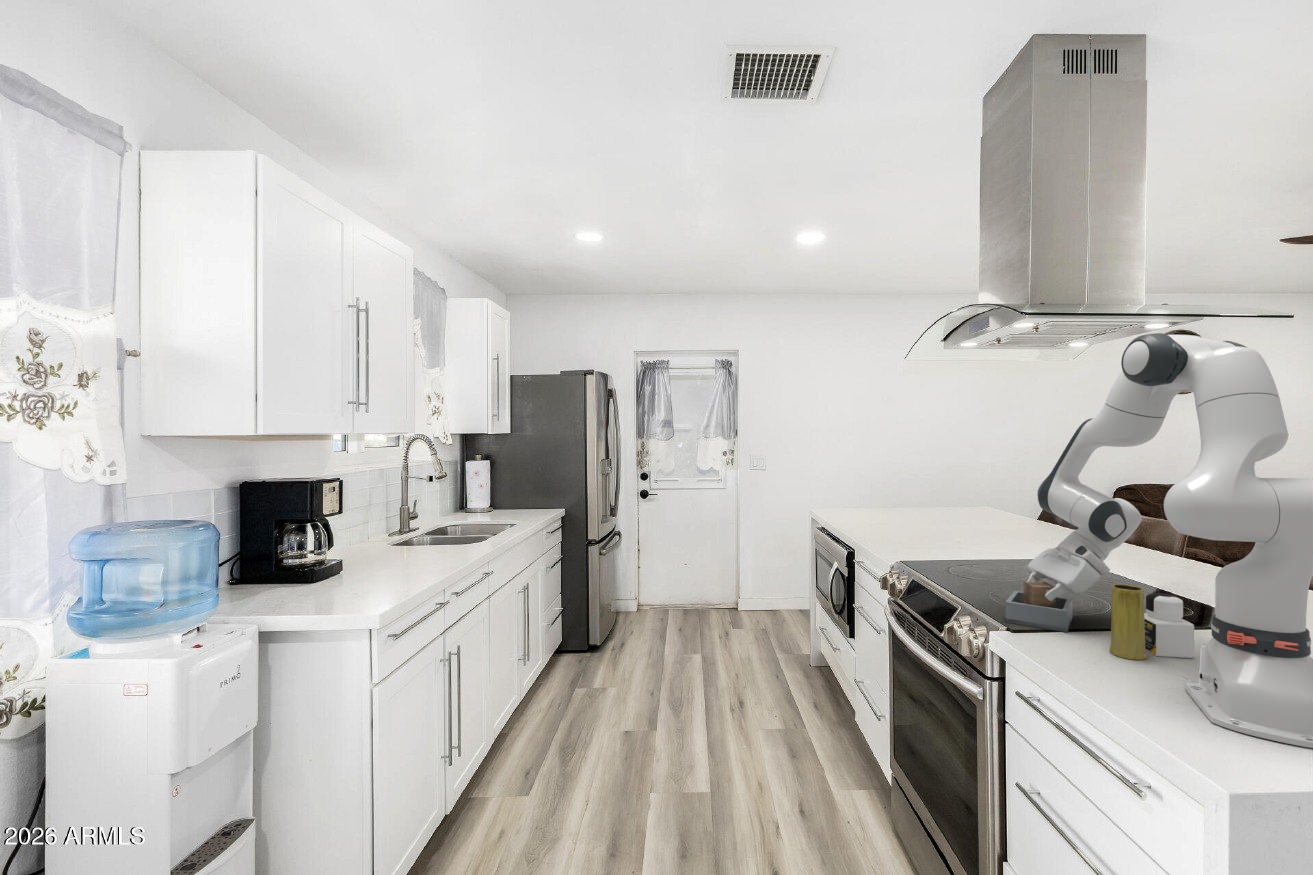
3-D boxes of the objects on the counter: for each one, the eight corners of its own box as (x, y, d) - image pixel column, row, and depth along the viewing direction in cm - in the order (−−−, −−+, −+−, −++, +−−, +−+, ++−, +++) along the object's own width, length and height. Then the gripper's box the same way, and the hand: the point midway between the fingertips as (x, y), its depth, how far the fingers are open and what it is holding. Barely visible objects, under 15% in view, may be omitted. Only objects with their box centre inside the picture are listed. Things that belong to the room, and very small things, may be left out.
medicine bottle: (1135, 644, 132) (1135, 590, 132) (1172, 646, 131) (1173, 591, 131) (1155, 656, 125) (1155, 599, 125) (1194, 658, 124) (1195, 600, 124)
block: (1055, 619, 146) (1055, 587, 146) (1033, 619, 147) (1033, 586, 147) (1044, 613, 151) (1044, 581, 151) (1023, 613, 152) (1023, 581, 152)
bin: (1067, 632, 140) (1067, 611, 140) (1005, 622, 148) (1005, 601, 148) (1072, 618, 150) (1072, 598, 150) (1014, 609, 158) (1014, 590, 158)
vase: (1110, 656, 126) (1110, 588, 126) (1108, 647, 131) (1108, 581, 131) (1147, 662, 122) (1147, 592, 122) (1144, 653, 127) (1144, 585, 127)
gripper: (1047, 537, 158) (1007, 573, 160) (1093, 553, 138) (1048, 594, 139) (1065, 554, 158) (1025, 590, 159) (1114, 572, 138) (1068, 614, 139)
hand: (1036, 592), depth 149 cm, fingers open, 8 cm apart
